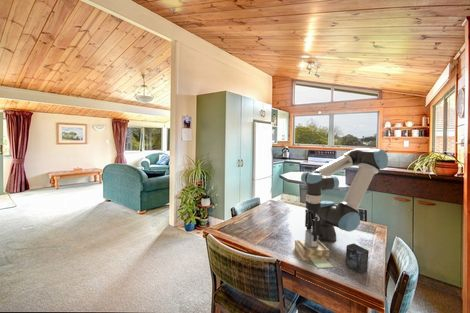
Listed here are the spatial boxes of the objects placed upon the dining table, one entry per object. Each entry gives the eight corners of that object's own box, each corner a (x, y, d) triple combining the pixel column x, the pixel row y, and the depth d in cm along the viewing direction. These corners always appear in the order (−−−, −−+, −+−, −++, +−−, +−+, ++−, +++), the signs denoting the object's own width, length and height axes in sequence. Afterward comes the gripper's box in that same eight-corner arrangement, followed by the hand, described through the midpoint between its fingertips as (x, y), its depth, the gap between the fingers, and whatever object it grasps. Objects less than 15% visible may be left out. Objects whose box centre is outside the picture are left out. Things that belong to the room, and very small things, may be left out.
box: (345, 265, 109) (346, 245, 108) (352, 262, 111) (354, 242, 110) (359, 274, 102) (361, 252, 101) (367, 271, 104) (369, 250, 103)
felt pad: (324, 258, 115) (324, 257, 115) (333, 267, 107) (333, 266, 107) (310, 259, 114) (310, 258, 114) (317, 268, 106) (317, 267, 106)
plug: (313, 251, 122) (314, 228, 121) (317, 255, 117) (318, 232, 116) (304, 251, 122) (305, 229, 121) (308, 256, 117) (309, 232, 116)
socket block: (317, 247, 126) (318, 238, 126) (328, 259, 114) (329, 249, 114) (294, 248, 125) (294, 239, 124) (303, 260, 113) (303, 250, 113)
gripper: (299, 197, 126) (298, 236, 128) (314, 207, 108) (312, 252, 110) (312, 197, 127) (310, 236, 129) (328, 206, 109) (326, 251, 111)
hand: (311, 243), depth 119 cm, fingers closed on plug, 5 cm apart
